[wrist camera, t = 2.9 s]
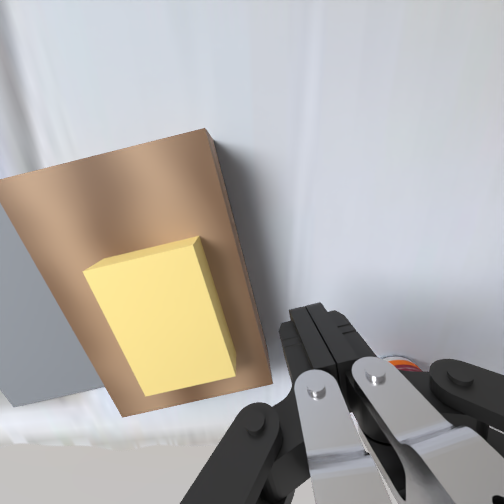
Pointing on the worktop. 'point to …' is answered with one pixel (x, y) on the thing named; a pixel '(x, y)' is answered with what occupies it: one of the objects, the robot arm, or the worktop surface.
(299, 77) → the worktop surface
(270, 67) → the worktop surface
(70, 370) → the mat
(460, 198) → the worktop surface
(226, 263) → the brown wooden block
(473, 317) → the worktop surface
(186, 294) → the yellow rectangular block
